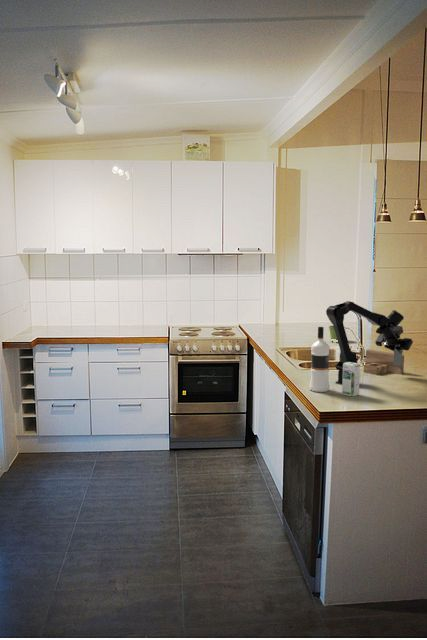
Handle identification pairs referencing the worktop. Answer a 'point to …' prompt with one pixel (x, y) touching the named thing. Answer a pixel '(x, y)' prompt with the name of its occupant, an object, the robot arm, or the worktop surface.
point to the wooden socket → (381, 363)
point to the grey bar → (397, 357)
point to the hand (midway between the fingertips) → (399, 352)
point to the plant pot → (332, 332)
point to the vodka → (319, 364)
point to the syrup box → (350, 379)
